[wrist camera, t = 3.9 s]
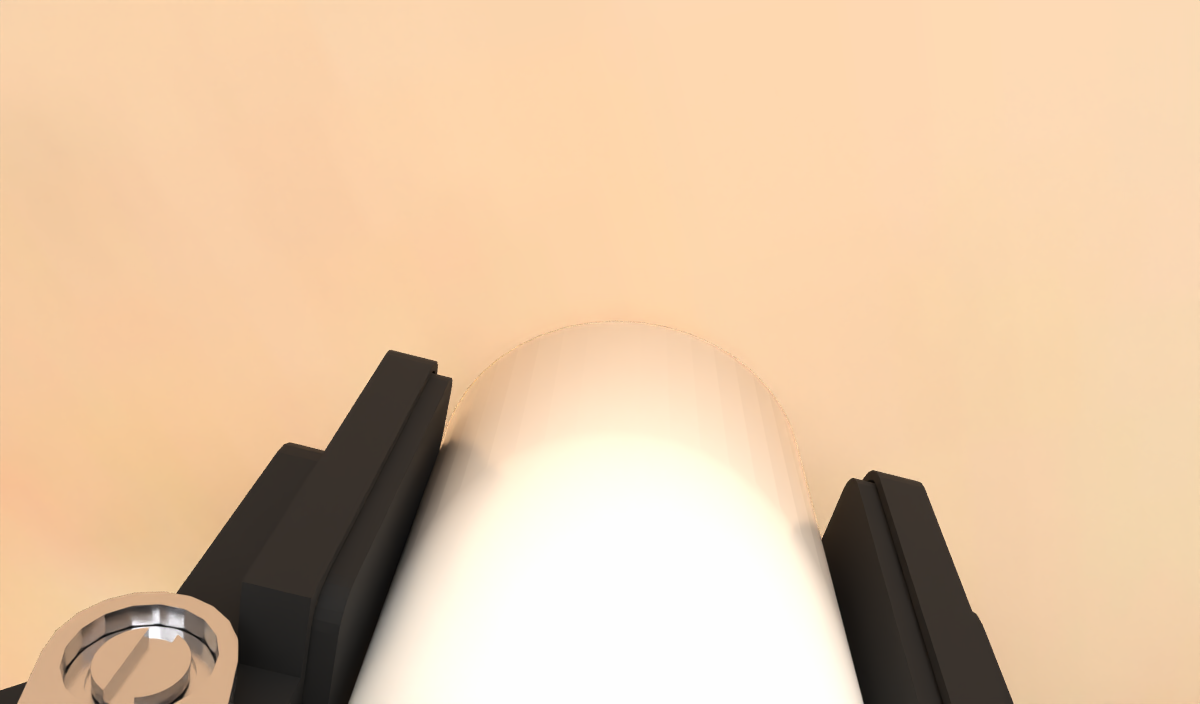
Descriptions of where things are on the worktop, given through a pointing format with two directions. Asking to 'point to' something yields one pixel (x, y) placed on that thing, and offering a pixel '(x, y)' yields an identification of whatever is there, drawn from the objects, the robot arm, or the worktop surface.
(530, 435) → the cylinder
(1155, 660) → the worktop surface
